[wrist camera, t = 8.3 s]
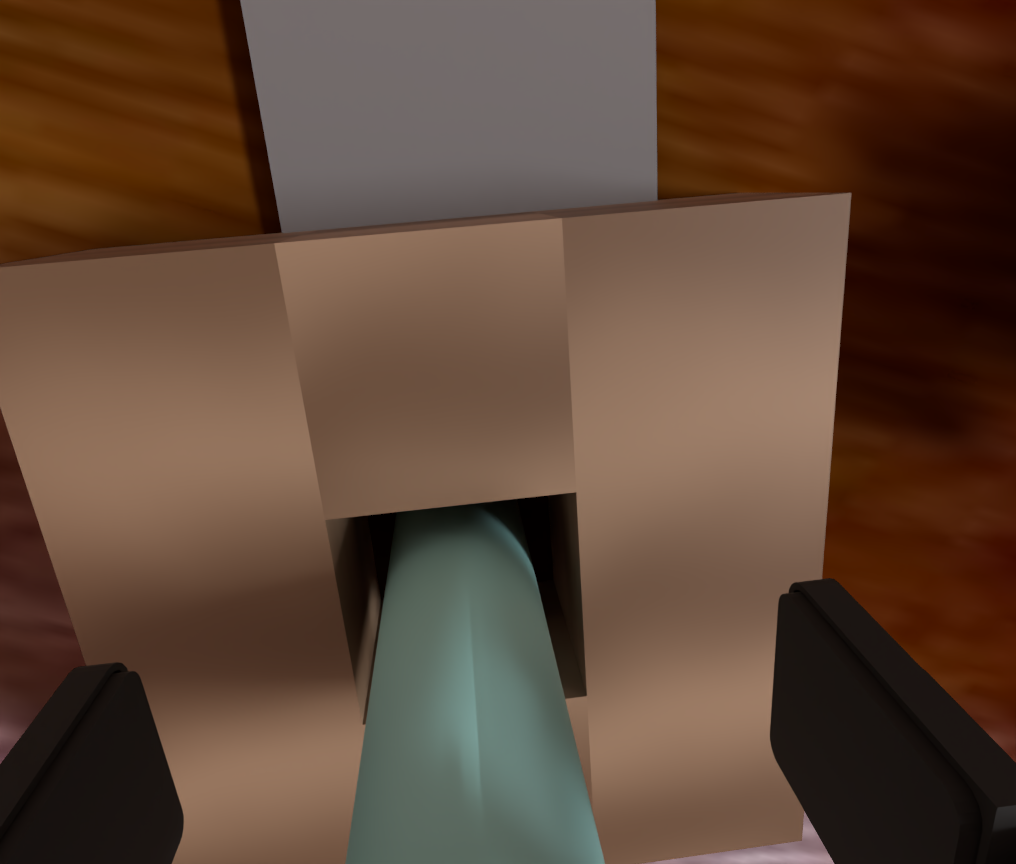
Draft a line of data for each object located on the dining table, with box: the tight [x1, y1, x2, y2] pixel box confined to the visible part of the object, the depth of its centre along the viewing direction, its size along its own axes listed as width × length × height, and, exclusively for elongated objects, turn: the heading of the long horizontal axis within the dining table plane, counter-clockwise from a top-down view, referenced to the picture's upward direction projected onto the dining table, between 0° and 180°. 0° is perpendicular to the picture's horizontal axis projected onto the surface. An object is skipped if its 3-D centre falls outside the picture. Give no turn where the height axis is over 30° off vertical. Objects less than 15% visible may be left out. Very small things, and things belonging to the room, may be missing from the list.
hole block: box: [0, 193, 851, 864], centre depth 15 cm, size 14×14×4 cm
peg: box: [345, 499, 605, 864], centre depth 12 cm, size 3×3×12 cm
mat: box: [240, 0, 657, 233], centre depth 14 cm, size 10×8×1 cm
